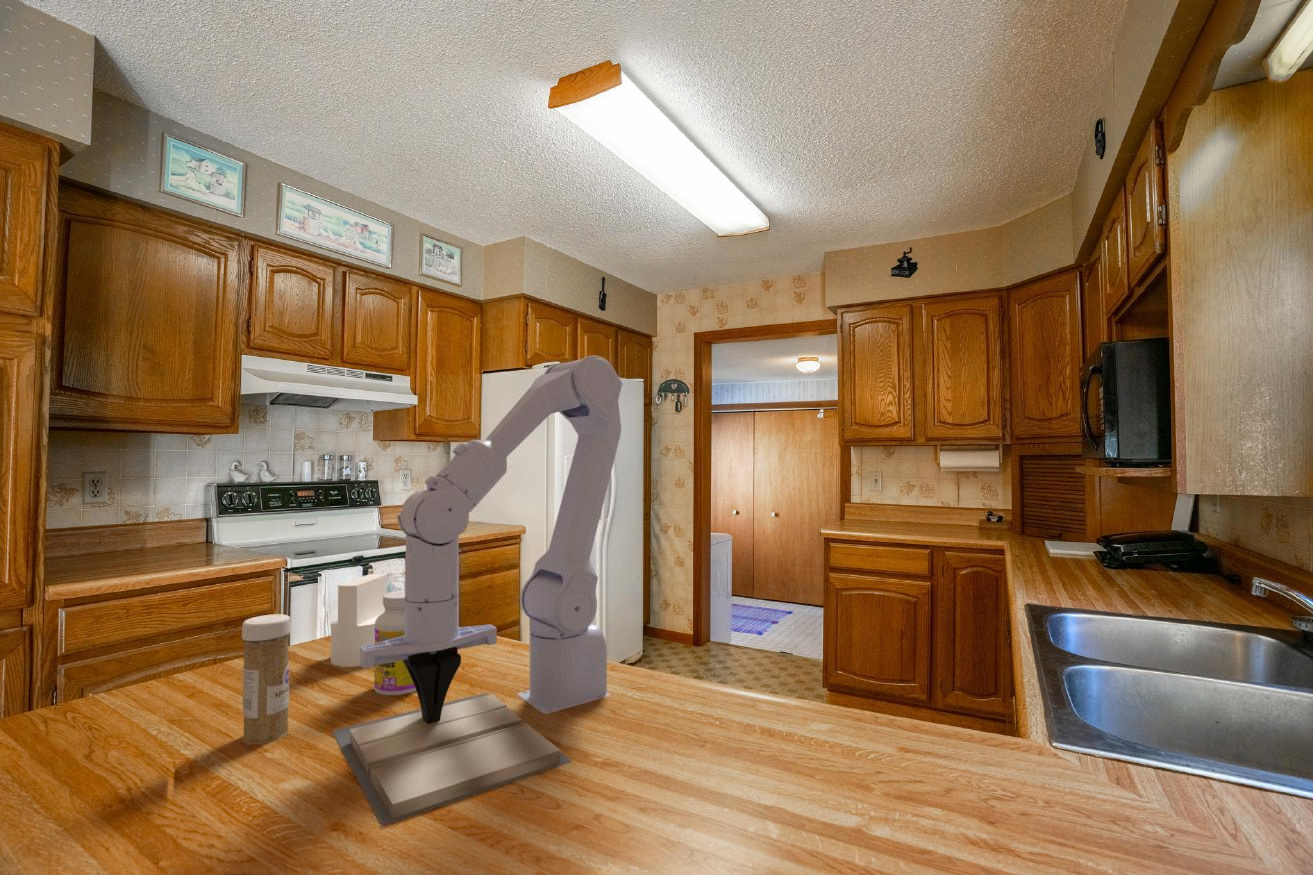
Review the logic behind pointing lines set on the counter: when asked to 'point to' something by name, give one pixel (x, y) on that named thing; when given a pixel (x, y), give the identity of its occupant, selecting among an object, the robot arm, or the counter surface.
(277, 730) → the sprinkles bottle
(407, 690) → the supplement bottle
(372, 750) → the loose plank
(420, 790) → the plank
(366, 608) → the base with upright slab
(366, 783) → the plate
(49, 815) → the counter surface
